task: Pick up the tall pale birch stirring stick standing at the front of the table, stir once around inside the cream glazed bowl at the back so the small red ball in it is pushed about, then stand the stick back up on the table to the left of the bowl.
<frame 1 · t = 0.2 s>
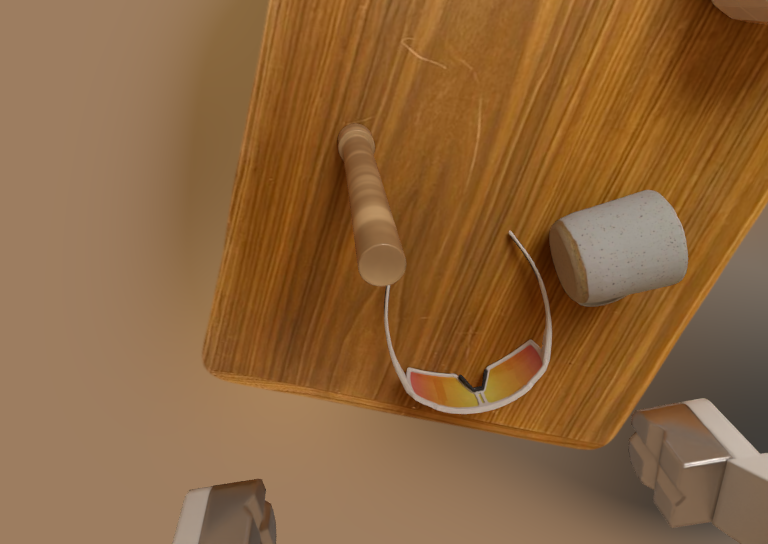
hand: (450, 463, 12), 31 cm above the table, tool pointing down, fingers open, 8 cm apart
sunglasses: (462, 314, 48), on the table
ceramic mug: (595, 242, 46), on the table
stir stick: (355, 141, 39), on the table
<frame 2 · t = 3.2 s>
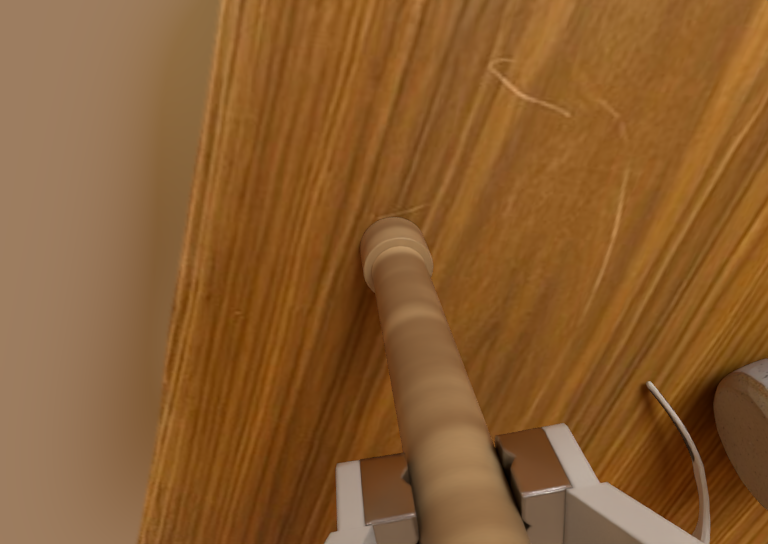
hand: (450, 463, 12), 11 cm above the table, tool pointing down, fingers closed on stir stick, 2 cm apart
sunglasses: (554, 495, 30), on the table
stir stick: (392, 246, 21), on the table, touching gripper
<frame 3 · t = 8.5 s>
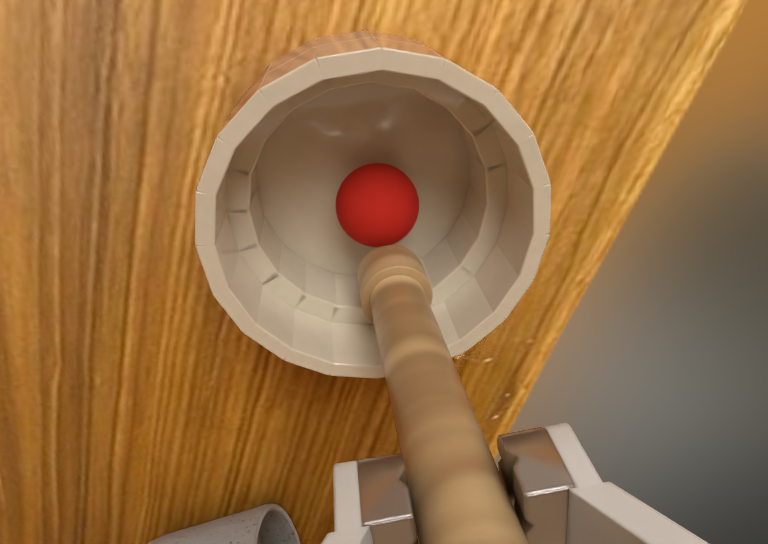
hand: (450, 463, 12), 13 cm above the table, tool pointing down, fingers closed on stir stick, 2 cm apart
red ball: (377, 205, 20), point 2 cm above the table, tilted 18°, touching bowl, stir stick
bowl: (363, 177, 22), on the table
ceramic mug: (240, 541, 33), on the table
stir stick: (389, 274, 21), point 3 cm above the table, touching bowl, gripper, red ball
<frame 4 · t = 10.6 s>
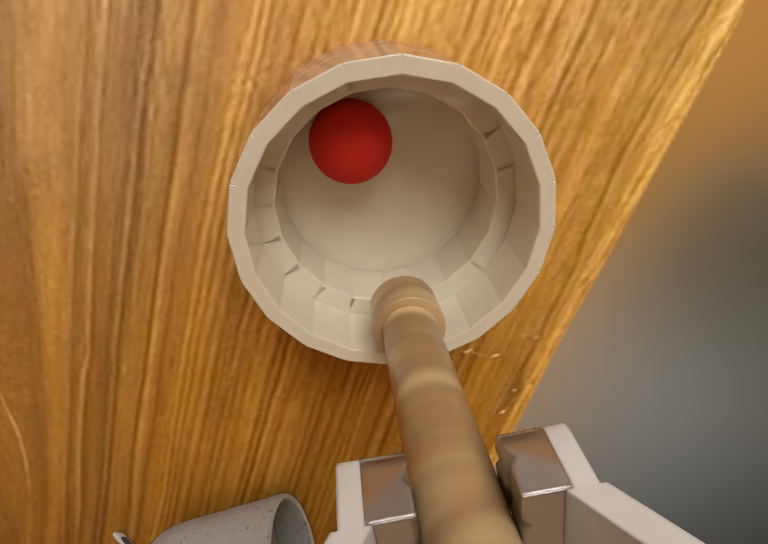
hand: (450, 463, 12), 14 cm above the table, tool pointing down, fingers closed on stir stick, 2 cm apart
red ball: (350, 141, 20), point 2 cm above the table, tilted 90°, touching bowl
bowl: (379, 177, 24), on the table
ceramic mug: (254, 531, 34), on the table
stir stick: (403, 305, 21), point 5 cm above the table, tilted 5°, touching gripper
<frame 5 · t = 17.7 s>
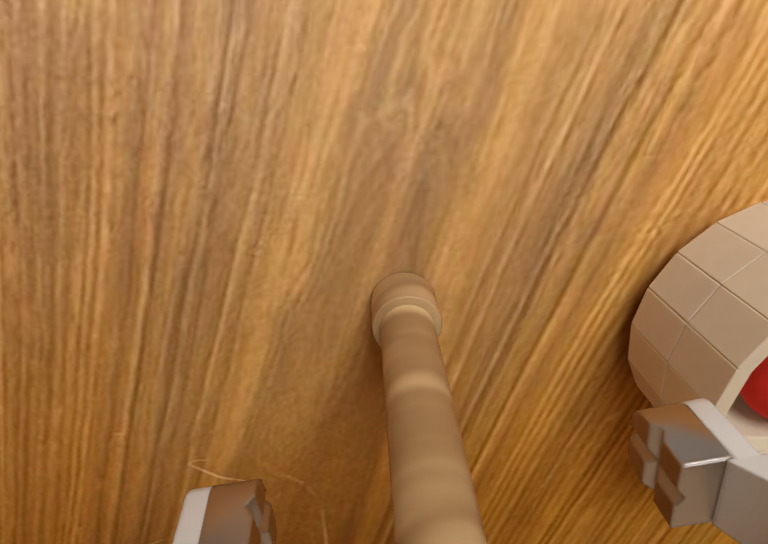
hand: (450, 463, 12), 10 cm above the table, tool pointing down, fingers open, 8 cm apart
bowl: (744, 310, 24), on the table
stir stick: (403, 300, 22), on the table
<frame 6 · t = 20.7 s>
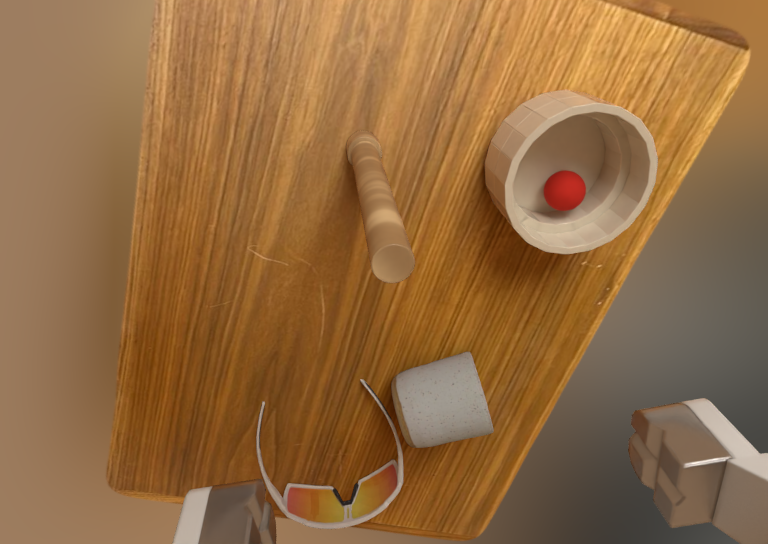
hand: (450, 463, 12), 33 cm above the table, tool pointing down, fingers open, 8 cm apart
red ball: (564, 190, 43), point 2 cm above the table, tilted 70°, touching bowl
sunglasses: (331, 440, 56), on the table
bowl: (550, 160, 44), on the table
ceramic mug: (439, 383, 54), on the table
stir stick: (362, 147, 42), on the table
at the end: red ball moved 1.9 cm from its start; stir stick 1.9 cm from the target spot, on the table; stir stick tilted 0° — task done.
